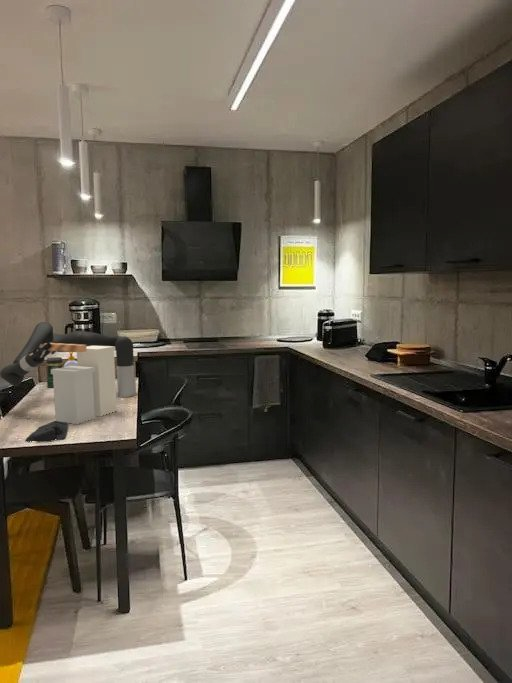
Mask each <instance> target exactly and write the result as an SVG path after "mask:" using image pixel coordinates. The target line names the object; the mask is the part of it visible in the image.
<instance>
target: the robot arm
mask: <svg viewBox="0 0 512 683" xmlns="http://www.w3.org/2000/svg"><path fill="white" fill-rule="evenodd" d="M45 343H47V344H46V345H44V344H45ZM50 343H62V344H81V345H86V347H87V346H115V353H116V354H115V355H116V356H115V358H116V361H115V362H116V377H117V378H116V379H117V380H116V382H117V397H119V398H129V397H134V396H137V387H136V386H137V380H136V378H135V373H134V372H135V371H134V370H135V367H134V363H135V362H134V356H135V355H134V342H133V341H132V339H131V338H129V337H128V336H119V335H118V336H116V335H115V336H114V335H106V334H101V333H97V332H93V331H85V330H76V331H72V332H68V333H64V334H63V333H59V334H58V333H54V327H53V325H52V324H51V323H49V322H46V321H42V322H39V323H37V324H36V325H35V327H34V329H33V330H32V333H31V335H30V337H29V339H28V340H27V342H26V344H25V345H24V346H23V348H22V349H21V351H20V352H19V353H18V355H17V356H16V357H15V358H14V360H13V362H12V363H11V364H7V365H6V366H4V367H3V368H2V369H1V370H0V377H1V379H3V380H4V381H6V382H7V383H9V384H10V385H11V386H13V387H17V386H19V385H21V384H22V382H23V380H24V378H25V376H26V375H27V374H28V373H29V374H30V372H31V371H33V370H35V369H36V368H37V367H39V366H40V365H42V364H43V363H44V362H45V359H46V358H48V356H49V355H50V354H51V355H55V353H56V352H57V351H49V350H48V349H49V348H50V347H51V344H50ZM41 345H42V346H41ZM40 346H41V347H40Z"/></svg>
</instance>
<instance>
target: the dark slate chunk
mask: <svg viewBox="0 0 512 683" xmlns="http://www.w3.org/2000/svg"><path fill="white" fill-rule="evenodd" d="M68 426H69V423H67V422H59V421H56V420H54V421H51V422H48V423H46V424H43V425H41V426H39V427H38V428H37V429H35V430H34V431H33V432H31V434H29V435H28V436H27V437H26V438H25V442H26V441H27V442H28V441H29V442H28V443H33V442H32V441H46V442H52V441H51V440H55V439H57V440H55V441H59V440H58V439H62V440H65V439H66V436H67V432H68ZM64 438H65V439H64ZM30 441H31V442H30Z"/></svg>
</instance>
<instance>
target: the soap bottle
mask: <svg viewBox="0 0 512 683" xmlns="http://www.w3.org/2000/svg"><path fill="white" fill-rule="evenodd" d="M73 353H74V352H69V356H68V357H67V361H65V363H64V365H63V367H68V366H77V360H76V359H75V356H73Z"/></svg>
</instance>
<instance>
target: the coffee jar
mask: <svg viewBox="0 0 512 683" xmlns="http://www.w3.org/2000/svg"><path fill="white" fill-rule="evenodd" d="M63 364H64V363H63V358H62V356H61V357H60V356H55V357H53V356H52V357H46V362H45V366H46V367H47V380H46V387H47V388H50V389H51V388H52V389H54V385H53V374H51V370H52V369H57V368H62V367H63V366H64V365H63Z"/></svg>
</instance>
